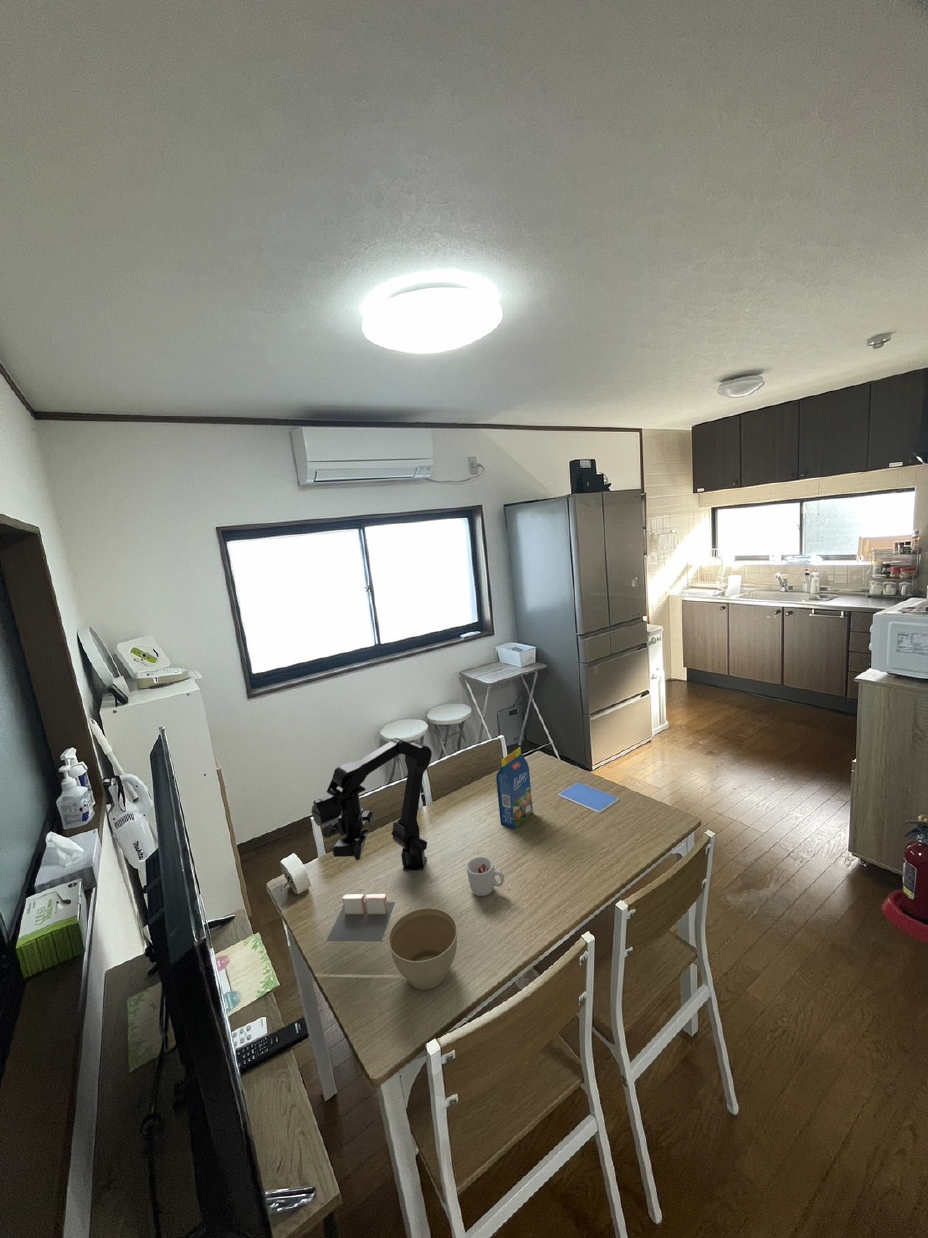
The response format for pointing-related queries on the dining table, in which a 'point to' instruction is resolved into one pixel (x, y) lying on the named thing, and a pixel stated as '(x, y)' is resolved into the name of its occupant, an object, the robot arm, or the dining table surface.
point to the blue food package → (514, 790)
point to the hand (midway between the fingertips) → (358, 859)
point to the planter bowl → (424, 946)
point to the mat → (360, 926)
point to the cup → (482, 875)
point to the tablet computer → (589, 797)
